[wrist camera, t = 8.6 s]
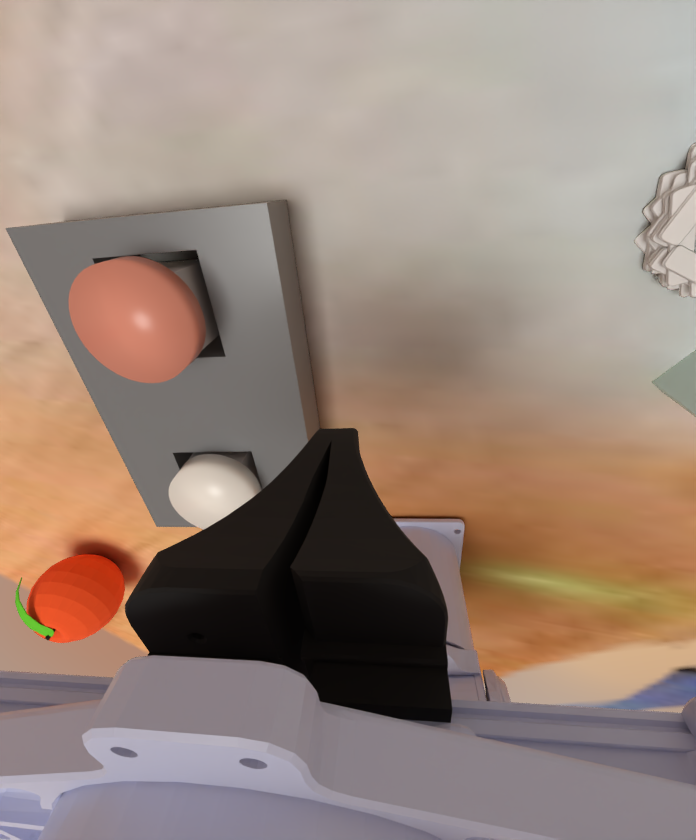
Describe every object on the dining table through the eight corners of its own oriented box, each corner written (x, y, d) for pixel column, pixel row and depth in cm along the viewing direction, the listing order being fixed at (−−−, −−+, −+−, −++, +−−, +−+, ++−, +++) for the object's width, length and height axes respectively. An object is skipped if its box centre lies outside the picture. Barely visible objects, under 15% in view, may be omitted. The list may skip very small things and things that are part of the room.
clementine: (43, 547, 35) (-29, 621, 29) (82, 520, 32) (12, 596, 26) (114, 592, 38) (62, 668, 32) (155, 571, 36) (107, 649, 30)
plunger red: (243, 341, 21) (206, 380, 17) (157, 345, 22) (101, 385, 17) (219, 239, 18) (168, 257, 14) (122, 248, 19) (44, 267, 15)
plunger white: (282, 479, 28) (262, 533, 23) (215, 479, 28) (184, 532, 24) (268, 419, 25) (243, 468, 21) (194, 421, 26) (155, 469, 21)
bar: (329, 492, 28) (322, 528, 25) (179, 492, 29) (156, 526, 27) (286, 199, 18) (266, 202, 15) (63, 221, 20) (5, 228, 17)
